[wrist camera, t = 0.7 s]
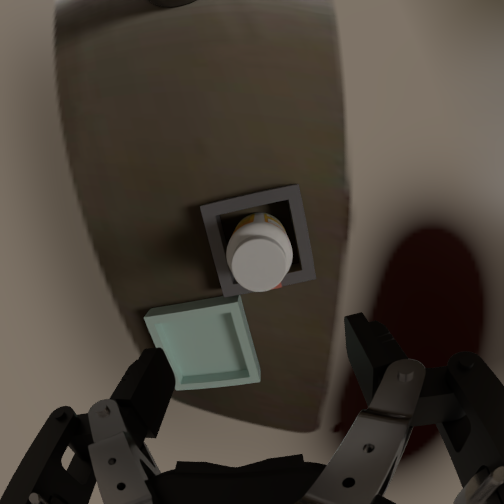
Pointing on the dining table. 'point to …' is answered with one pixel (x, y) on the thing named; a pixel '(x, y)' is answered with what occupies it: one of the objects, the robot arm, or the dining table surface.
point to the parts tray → (205, 342)
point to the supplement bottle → (259, 252)
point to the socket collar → (214, 209)
